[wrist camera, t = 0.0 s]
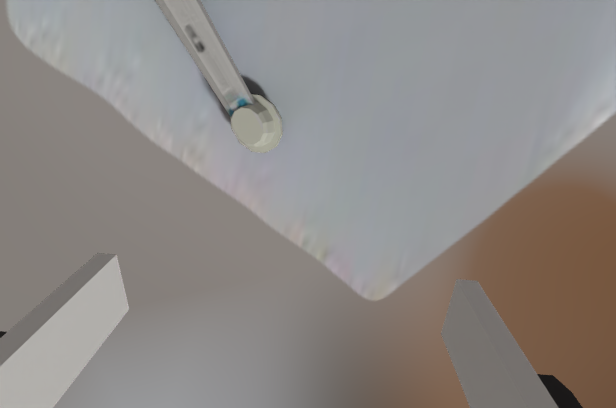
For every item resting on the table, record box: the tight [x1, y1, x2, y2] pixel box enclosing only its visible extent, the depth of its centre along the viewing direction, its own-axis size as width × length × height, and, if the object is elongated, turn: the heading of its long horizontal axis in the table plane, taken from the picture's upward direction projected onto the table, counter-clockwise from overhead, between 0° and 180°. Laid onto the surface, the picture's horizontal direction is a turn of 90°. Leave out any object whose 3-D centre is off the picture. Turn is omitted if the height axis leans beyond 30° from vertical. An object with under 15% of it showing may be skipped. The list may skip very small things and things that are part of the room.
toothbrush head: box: [155, 0, 283, 153], centre depth 33 cm, size 5×7×25 cm
